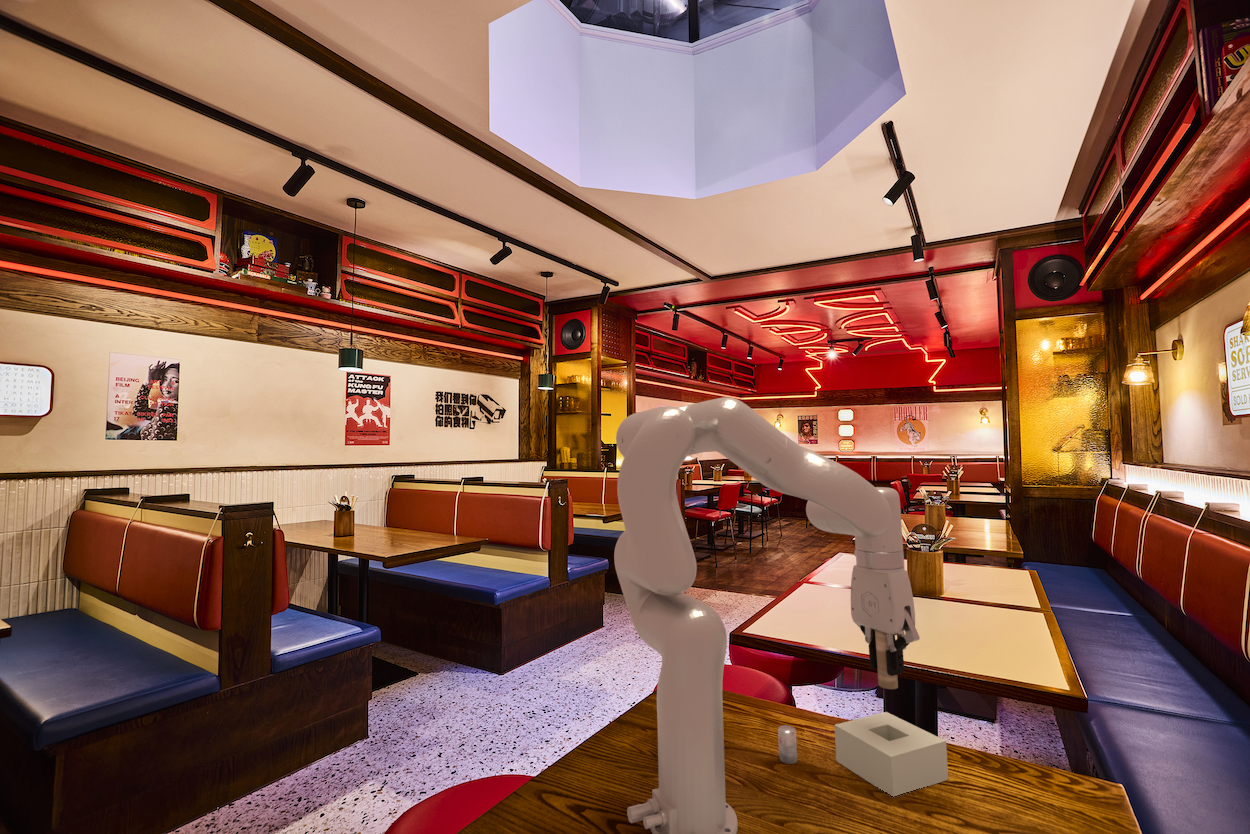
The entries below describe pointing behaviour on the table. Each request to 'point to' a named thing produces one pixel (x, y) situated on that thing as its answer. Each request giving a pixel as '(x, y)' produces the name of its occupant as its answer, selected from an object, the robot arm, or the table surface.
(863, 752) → the hole block
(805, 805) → the table surface
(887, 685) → the birch pin
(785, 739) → the steel stub
